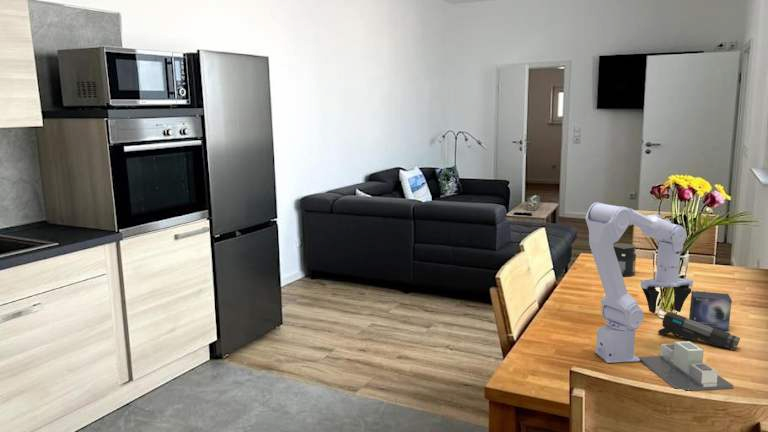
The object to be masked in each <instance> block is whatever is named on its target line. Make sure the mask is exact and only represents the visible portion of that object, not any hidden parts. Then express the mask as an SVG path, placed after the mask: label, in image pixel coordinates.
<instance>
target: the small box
mask: <svg viewBox="0 0 768 432" xmlns="http://www.w3.org/2000/svg"><path fill="white" fill-rule="evenodd" d="M690 294H691V296H690V306H689V316H688V319H690V320H692V321H695V322H698V323H701V324H704V325H706V326H709V327H712V328H717V329H719V330H722V331H725V332H728V333H729V328H730V318H731V310H732V304H733V303H732V301H733V300H732V298H731V296H730V295H729V294H728V293H722V292H721V293H720V292H710V291H709V292H708V291H697V290H691V293H690Z"/></svg>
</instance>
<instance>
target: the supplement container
mask: <svg viewBox="0 0 768 432" xmlns="http://www.w3.org/2000/svg"><path fill="white" fill-rule="evenodd" d="M613 247H614V250H615V254H616V257H617V260H618V263H619V267H620V270H621V273H622V276H623V277H632V276H634V275H635V274H636V262H637V261H636V260H637V254H636V247H637V246H635V245H633V244H629V243H613Z"/></svg>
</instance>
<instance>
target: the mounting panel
mask: <svg viewBox="0 0 768 432" xmlns="http://www.w3.org/2000/svg"><path fill="white" fill-rule="evenodd" d="M674 346H675V342H674V343H661V344H660V350H659V351H660V353H659V355H650V356H637V357H638V358H639V359H640V361H639V362H640V363H642V364H643V365H644V366H645V367H647V368H648V369H649V370H650V371H652V372H653V373H655V374H656V375H657V376H658V377H659V378H661V379H662V380H663V381H665V382H666V383H668V384H669V385H670V386H671V387H672V386H673V387H672V388H673V389H675V388H677V389H683V390H688V389H689V390H696V391H709V390H710V391H711V390H725V389H727V390H729V389H734V384H732V383H731V382H729V381H728V380H726V379H725V378H723V377H722V376H720V375H718V374H719V373H718V372H719V371H718V370H716V369H715V368H713V367H712V366H711V365H709V364H707V363H706V362H703V363H695V364H690V368H689V373H686V372H684V371H683V370H681V369H680V368H679V367H677V366H676V365H674V364H673V359H674Z"/></svg>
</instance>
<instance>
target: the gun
mask: <svg viewBox="0 0 768 432" xmlns="http://www.w3.org/2000/svg"><path fill="white" fill-rule="evenodd" d="M661 323H662V327H663V328H660V329H659V330H658V331H657V332H658V335H659V336H665V335H667V334H670V333H671V335H673V336H674V337H676V338H679V337H681V338H685V339H687V340H688V341H693V340H694V341H698V339H699V340H701V341H703V342H705V343H707V344H708V345H709V344H710V345H712V346H715V347H718V348H721V347H724V348H727V349H729V350H730V351H733V350H735V347H738V345H739V342H740V340H741V337H740V336H737V335H734V334H731V333H730V332H729V331H728V332H727V331H722V330H719V329H717V328H712V327H709V326H706V325H704V324H701V323H698V322H695V321H692V320H690V319H689V318H687V316H686V317H685V316H682V315H680V314H677V313H676V312H671V311H667V312H666V313H665V314H664V315H663V319H662V322H661Z"/></svg>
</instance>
